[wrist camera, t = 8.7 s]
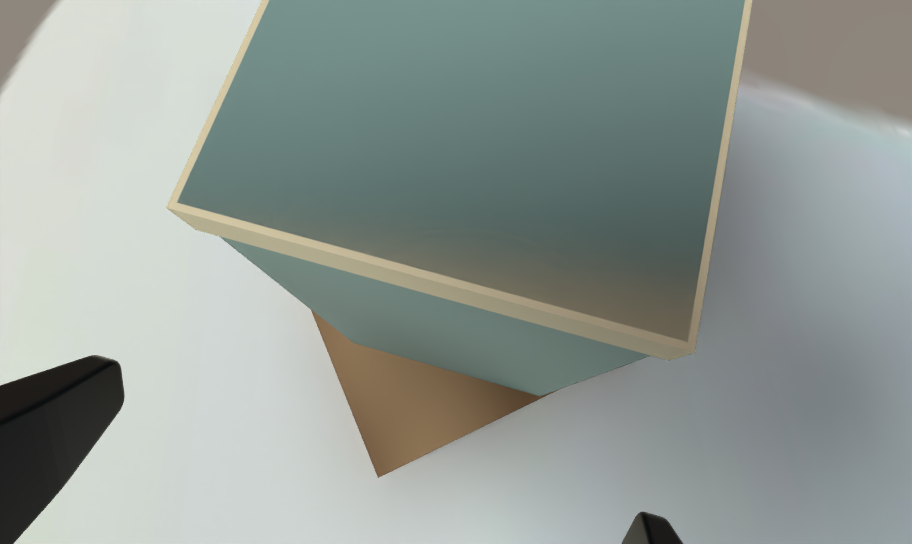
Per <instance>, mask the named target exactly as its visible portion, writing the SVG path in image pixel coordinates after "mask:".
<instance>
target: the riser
mask: <svg viewBox="0 0 912 544" xmlns="http://www.w3.org/2000/svg"><path fill="white" fill-rule="evenodd" d="M311 311H312V310H311ZM312 313H313V316H314V318H315V321H316V323H317V326H318V328H319V331H320V333H321V336H322V338H323V341H324V343H325V346H326V348H327V351H328V353H329V356H330V358H331V361H332V363H333V366H334V368H335V371H336V373H337V376H338V378H339V381H340V383H341V386H342V389H343V391H344V394H345V396H346V399H347V401H348V404H349V406H350V409H351V411H352V414H353V416H354V419H355V421H356V424H357V426H358V429H359V431H360V434H361V436H362V439H363V441H364V444H365V446H366V449H367V451H368V454H369V456H370V459H371V461H372V464H373V466H374V469H375V471H376V474H377V476H378V478H379V477H381V476H383V475H385V474H387V473H389V472H391V471H393V470H395V469H397V468H399V467H401V466H403V465H405V464H407V463H409V462H411V461H413V460H416V459H418V458H420V457H422V456H424V455H426V454H428V453H430V452H432V451H434V450H436V449H438V448H440V447H442V446H444V445H446V444H448V443H450V442H452V441H454V440H457V439H459V438H461V437H463V436H465V435H467V434H469V433H471V432H473V431H475V430H477V429H479V428H481V427H483V426H485V425H487V424H489V423H491V422H493V421H496V420H498V419H500V418H502V417H504V416H506V415H508V414H510V413H512V412H514V411H516V410H518V409H520V408H522V407H524V406H526V405H528V404H530V403H532V402H534V401H537V400H539V399H541V398H543V397H545V396H547V395H549V394H551V393H553V392H555V391H553V392H550V393H547V394H545V395H542V396H537V395H533V394H530V393H526V392H523V391H519V390H516V389H512V388H509V387H505V386H502V385H498V384H495V383H491V382H488V381H484V380H481V379H477V378H474V377H471V376H467V375H464V374H460V373H457V372H453V371H450V370H446V369H443V368H439V367H436V366H432V365H429V364H425V363H422V362H418V361H415V360H411V359H408V358H404V357H401V356H397V355H394V354H390V353H387V352H383V351H380V350H376V349H373V348H369V347H366V346H362V345H359V344H356V343H353V342H352V341H350V340H349V339H348V338H346V337H345V336H344V335H343V334H341V333H340V332H339V331H338V330H336V329H335V328H334V327H333V326H331V325H330V324H329V323H328V322H326V321H325V320H324V319H323V318H321V317H320V316H319V315H318V314H316V313H315V312H314V311H312ZM558 390H559V389H558ZM556 391H557V390H556Z"/></svg>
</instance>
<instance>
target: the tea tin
mask: <svg viewBox="0 0 912 544" xmlns="http://www.w3.org/2000/svg"><path fill="white" fill-rule="evenodd" d="M751 5H752V0H262V1H261V3H260V6H259V8H258V10H257V12H256V14H255V16H254V19H253V21H252V23H251V25H250V27H249V29H248V32H247V34H246V36H245V38H244V40H243V42H242V45H241V47H240V49H239V51H238V53H237V55H236V58H235V60H234V62H233V64H232V66H231V68H230V71H229V73H228V75H227V77H226V79H225V81H224V84H223V86H222V88H221V90H220V92H219V94H218V97H217V99H216V101H215V103H214V105H213V107H212V110H211V112H210V114H209V116H208V118H207V120H206V123H205V125H204V127H203V129H202V131H201V133H200V135H199V138H198V140H197V142H196V144H195V146H194V148H193V151H192V153H191V155H190V157H189V159H188V161H187V164H186V166H185V168H184V170H183V172H182V174H181V177H180V179H179V181H178V183H177V185H176V187H175V190H174V192H173V194H172V196H171V198H170V200H169V203H168V205H167V207H166V208H167V209H169V210H170V211H171V212H173V213H174V214H175V215H177V216H178V217H179V218H181V219H182V220H183V221H185V222H186V223H187V224H189V225H190V226H191V227H193V228H194V229H195V230H198V231H202V232H206V233H209V234H213V235H216V236H219V237H221V238H222V239H223V240H224V241H226V242H227V243H228V244H229V245H231V246H232V247H233V248H234V249H236V250H237V251H238V252H239V253H241V254H242V255H243V256H245V257H246V258H247V259H248V260H250V261H251V262H252V263H253V264H255V265H256V266H257V267H258V268H260V269H261V270H262V271H263V272H265V273H266V274H267V275H268V276H270V277H271V278H272V279H273V280H275V281H276V282H277V283H279V284H280V285H281V286H282V287H284V288H285V289H286V290H287V291H289V292H290V293H291V294H292V295H294V296H295V297H296V298H297V299H299V300H300V301H301V302H302V303H304V304H305V305H306V306H307V307H309V308H310V309H311V310H312V311H314V312H315V313H316V314H318V315H319V316H320V317H321V318H323V319H324V320H325V321H326V322H328V323H329V324H330V325H331V326H333V327H334V328H335V329H336V330H338V331H339V332H340V333H341V334H343V335H344V336H345V337H346V338H348V339H349V340H350V341H352V342H353V343H356V344H359V345H362V346H366V347H369V348H373V349H376V350H380V351H383V352H387V353H390V354H394V355H397V356H401V357H404V358H408V359H411V360H415V361H418V362H422V363H425V364H429V365H432V366H436V367H439V368H443V369H446V370H450V371H453V372H457V373H460V374H464V375H467V376H471V377H474V378H477V379H481V380H484V381H488V382H491V383H495V384H498V385H502V386H505V387H509V388H512V389H516V390H519V391H523V392H526V393H530V394H533V395H537V396H542V395H545V394H547V393H550V392H553V391H556V390H558V389H561V388H564V387H566V386H569V385H572V384H575V383H577V382H580V381H583V380H586V379H588V378H591V377H594V376H597V375H599V374H602V373H605V372H607V371H610V370H613V369H616V368H618V367H621V366H624V365H627V364H629V363H632V362H635V361H637V360H640V359H643V358H646V357H648V356H654V357H658V358H661V359H665V360H669V361H670V360H673V359H676V358H679V357H682V356H686V355H689V354H692V353H695V349H696V343H697V336H698V330H699V324H700V318H701V312H702V306H703V300H704V294H705V287H706V281H707V275H708V269H709V263H710V257H711V251H712V245H713V238H714V232H715V226H716V220H717V214H718V208H719V202H720V196H721V189H722V183H723V177H724V171H725V165H726V159H727V153H728V146H729V140H730V134H731V128H732V122H733V116H734V110H735V104H736V97H737V91H738V85H739V79H740V73H741V67H742V61H743V55H744V48H745V42H746V36H747V30H748V24H749V18H750V11H751Z"/></svg>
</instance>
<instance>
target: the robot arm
mask: <svg viewBox="0 0 912 544" xmlns="http://www.w3.org/2000/svg"><path fill="white" fill-rule="evenodd" d="M123 402H124V387H123V380H122V372H121V366H120V364H119V363H118V362H117V361H115V360H113V359H109V358H106V357H102V356H98V355H92V356H88V357H85V358H82V359H79V360H76V361H73V362H70V363H67V364H64V365H61V366H58V367H55V368H52V369H49V370H46V371H43V372H40V373H37V374H34V375H31V376H28V377H24V378H21V379H18V380H15V381H12V382H9V383H6V384H3V385H0V544H14V542H15V541H16V540H17V539H18V538H19V537H20V536H21V535H22V533H23V532H24V531H25V530H26V529H27V528H28V527H29V526H30V524H31V523H32V522H33V521H34V520H35V519H36V518H37V517H38V515H39V514H40V513H41V512H42V511H43V510H44V509H45V508H46V506H47V505H48V504H49V503H50V502H51V501H52V500H53V498H54V497H55V496H56V495H57V494H58V493H59V491H60V490H61V489H62V488H63V487H64V485H65V484H66V483H67V481H68V480H69V479H70V478H71V476H72V475H73V474H74V472H75V471H76V470H77V468H78V467H79V465H80V464H81V463H82V461H83V460H84V459H85V457H86V456H87V455H88V453H89V452H90V451H91V449H92V448H93V446H94V445H95V444H96V442H97V441H98V440H99V438H100V437H101V436H102V434H103V433H104V431H105V430H106V429H107V427H108V426H109V425H110V423H111V422H112V421H113V419H114V418H115V417H116V415H117V414H118V412H119V411H120V409H121V407H122V405H123ZM622 544H683V543H682V541H681V540H680V538H679V537H678V535H677V534H676V532H675V531H674V529H673V528H672V526H671V524H670V523H669V522H668V521H667V520H666V519H665V518H663V517H660V516H657V515H653V514H650V513H647V512H640V513H638V514H637V516H636V517H635V519H634V521H633V523H632V525H631V527H630V528H629V530H628V532H627V534H626V536H625V538H624V540H623V542H622Z"/></svg>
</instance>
